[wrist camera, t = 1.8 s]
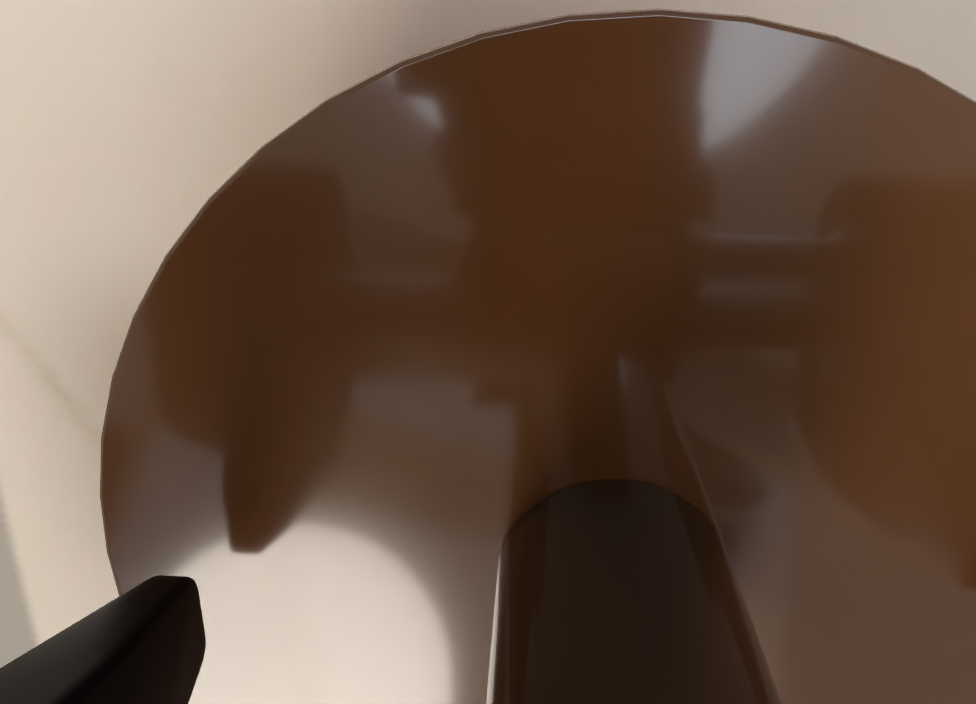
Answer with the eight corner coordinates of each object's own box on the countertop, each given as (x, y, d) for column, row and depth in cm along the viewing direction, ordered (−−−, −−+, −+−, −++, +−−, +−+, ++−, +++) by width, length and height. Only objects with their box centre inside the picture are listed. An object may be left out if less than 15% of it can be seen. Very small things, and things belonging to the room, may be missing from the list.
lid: (1304, 552, 10) (2001, 1028, 5) (572, 949, 13) (587, 1437, 9) (668, -296, 7) (912, -943, 2) (-34, 493, 10) (-477, 847, 6)
